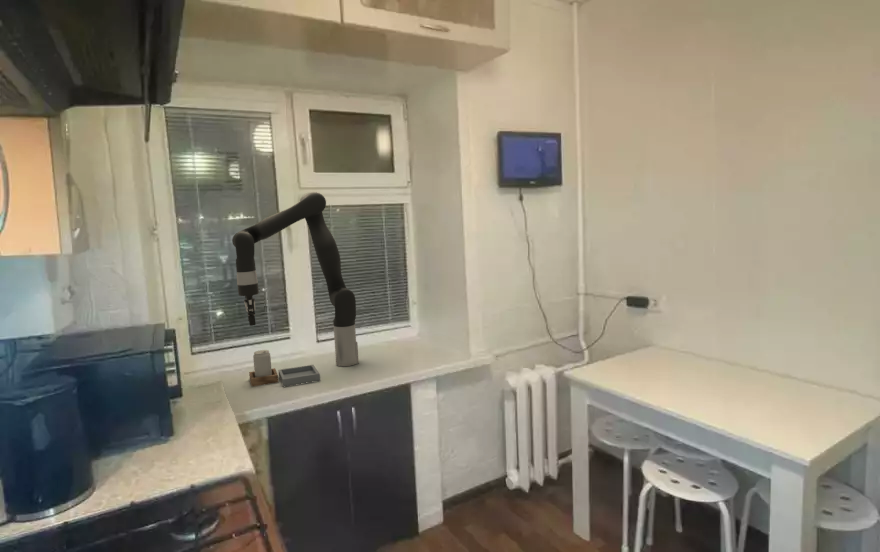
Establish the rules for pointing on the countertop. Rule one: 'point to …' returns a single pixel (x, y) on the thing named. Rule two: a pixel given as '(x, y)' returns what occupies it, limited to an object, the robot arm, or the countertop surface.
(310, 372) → the tray
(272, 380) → the collar
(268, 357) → the beverage can
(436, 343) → the countertop surface
